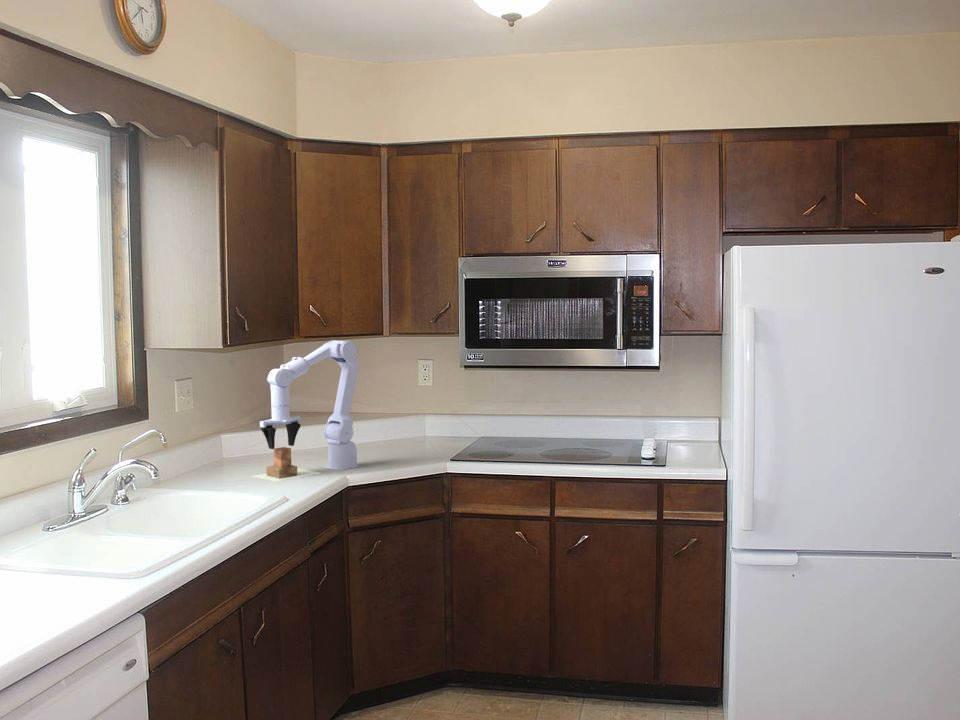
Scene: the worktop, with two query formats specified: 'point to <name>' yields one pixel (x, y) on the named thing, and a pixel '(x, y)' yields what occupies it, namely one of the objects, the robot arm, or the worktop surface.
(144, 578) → the worktop surface
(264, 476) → the plate
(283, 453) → the cherry block
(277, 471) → the walnut slab
